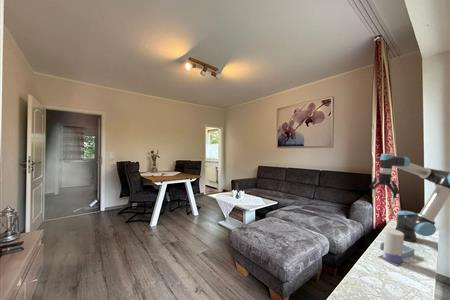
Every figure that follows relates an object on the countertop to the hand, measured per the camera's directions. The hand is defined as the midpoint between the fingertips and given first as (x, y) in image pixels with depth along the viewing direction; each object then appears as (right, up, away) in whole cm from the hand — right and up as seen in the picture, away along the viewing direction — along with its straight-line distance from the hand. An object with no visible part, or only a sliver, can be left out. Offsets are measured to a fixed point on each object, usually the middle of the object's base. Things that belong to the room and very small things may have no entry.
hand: (383, 199), depth 159 cm
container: (-9, -38, -19) cm, 43 cm away
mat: (-9, -38, -19) cm, 43 cm away
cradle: (+2, -38, -10) cm, 39 cm away
